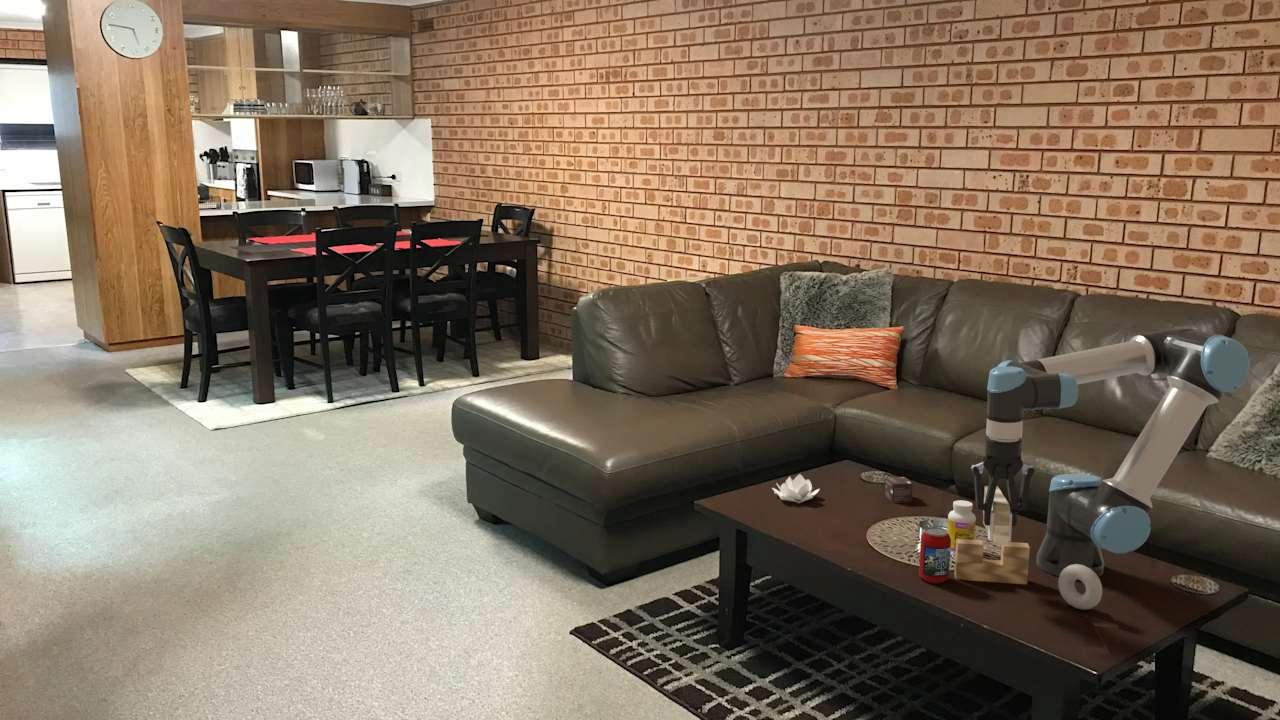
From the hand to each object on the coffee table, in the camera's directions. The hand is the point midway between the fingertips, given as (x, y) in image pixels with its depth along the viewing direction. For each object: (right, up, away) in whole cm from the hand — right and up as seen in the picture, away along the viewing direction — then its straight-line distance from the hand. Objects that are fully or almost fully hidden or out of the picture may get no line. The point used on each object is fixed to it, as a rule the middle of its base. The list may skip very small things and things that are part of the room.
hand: (999, 538), depth 234 cm
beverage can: (-11, -12, +13) cm, 21 cm away
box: (-6, -2, +66) cm, 67 cm away
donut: (+16, -15, -3) cm, 23 cm away
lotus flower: (-36, -2, +66) cm, 75 cm away
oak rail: (+2, -12, +13) cm, 18 cm away
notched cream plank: (+1, 0, +4) cm, 4 cm away
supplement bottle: (0, -9, +30) cm, 31 cm away
